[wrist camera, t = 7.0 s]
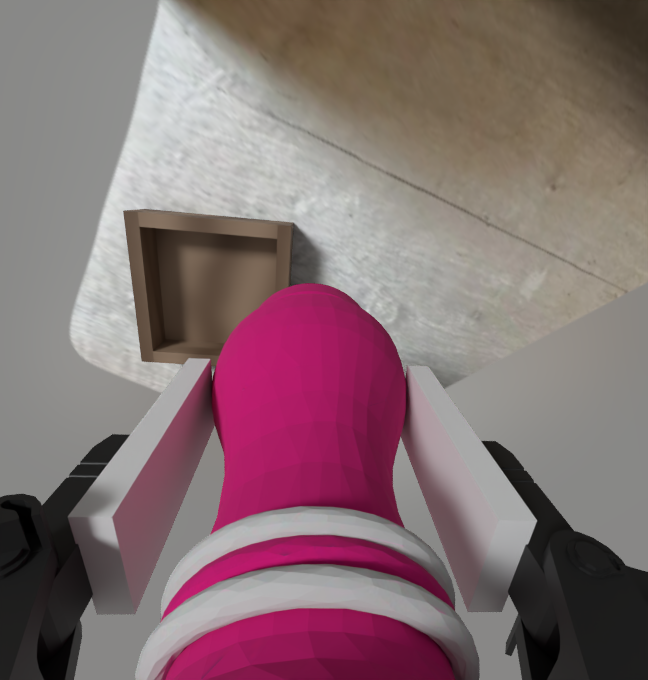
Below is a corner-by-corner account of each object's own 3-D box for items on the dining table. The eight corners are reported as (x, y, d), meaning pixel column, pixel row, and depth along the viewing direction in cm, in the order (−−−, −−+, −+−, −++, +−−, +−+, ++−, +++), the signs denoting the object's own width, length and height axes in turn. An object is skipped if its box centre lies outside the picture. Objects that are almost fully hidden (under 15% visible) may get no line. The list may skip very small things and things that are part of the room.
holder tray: (293, 222, 29) (291, 226, 26) (286, 353, 33) (283, 370, 30) (145, 209, 28) (123, 210, 25) (158, 344, 33) (141, 361, 29)
